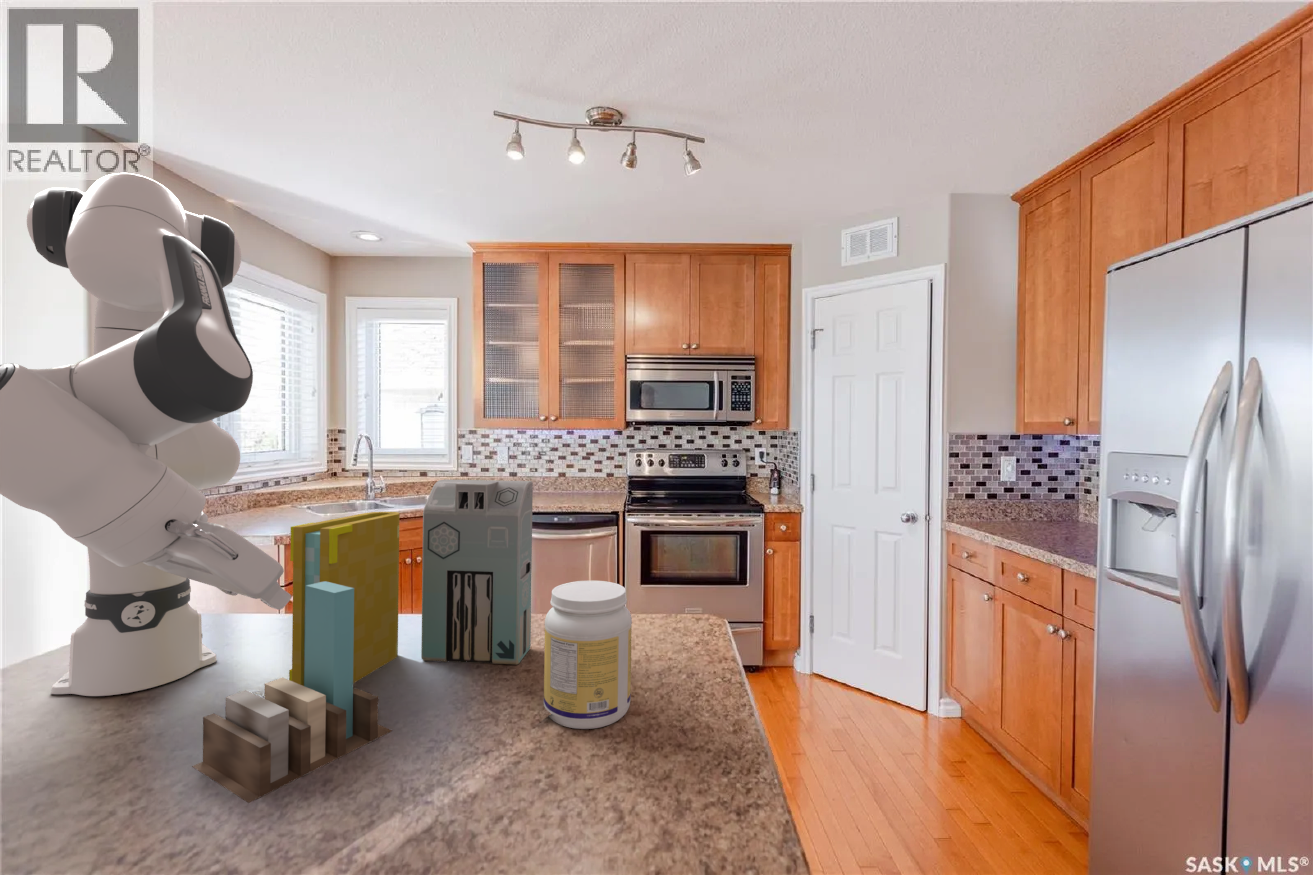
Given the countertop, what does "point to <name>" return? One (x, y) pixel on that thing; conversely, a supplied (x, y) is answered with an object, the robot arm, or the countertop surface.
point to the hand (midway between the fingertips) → (259, 596)
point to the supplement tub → (587, 654)
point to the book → (350, 583)
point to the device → (477, 571)
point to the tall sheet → (330, 644)
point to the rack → (248, 757)
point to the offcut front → (262, 725)
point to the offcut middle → (302, 709)
